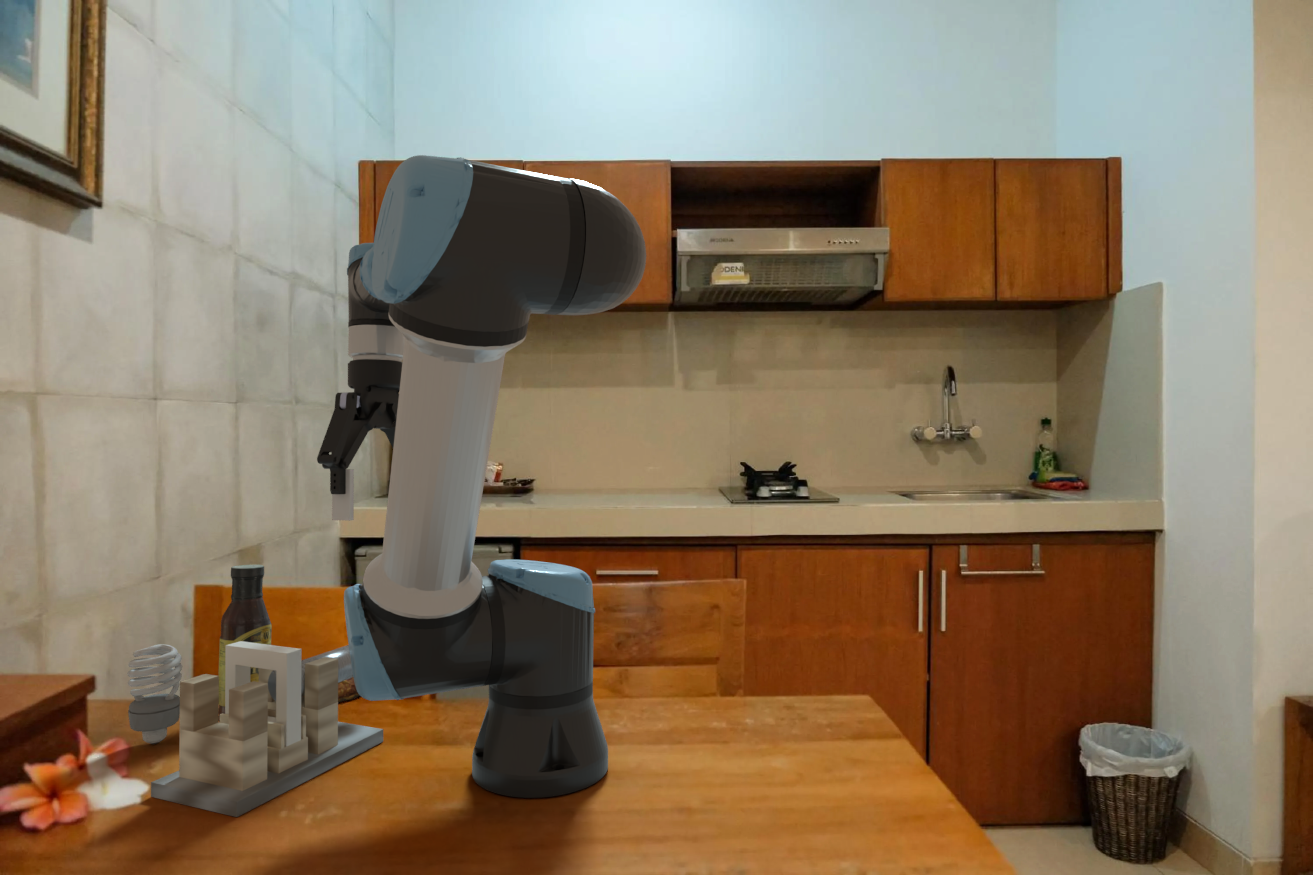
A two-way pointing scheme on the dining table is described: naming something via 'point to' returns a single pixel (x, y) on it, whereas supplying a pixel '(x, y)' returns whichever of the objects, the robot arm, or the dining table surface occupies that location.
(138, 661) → the light bulb
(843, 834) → the dining table surface
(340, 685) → the bread roll
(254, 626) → the sauce bottle
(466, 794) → the dining table surface
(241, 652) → the grey arch-shaped block
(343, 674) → the shaft
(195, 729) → the grey block assembly base
